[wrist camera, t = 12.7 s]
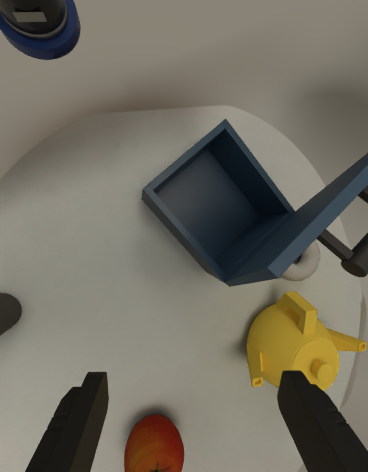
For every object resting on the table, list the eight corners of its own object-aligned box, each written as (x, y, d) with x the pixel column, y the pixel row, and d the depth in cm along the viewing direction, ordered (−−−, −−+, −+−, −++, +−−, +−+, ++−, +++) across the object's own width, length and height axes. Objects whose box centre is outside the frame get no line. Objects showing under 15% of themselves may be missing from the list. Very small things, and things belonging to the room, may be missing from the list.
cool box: (141, 198, 37) (142, 189, 29) (206, 143, 40) (225, 118, 31) (206, 272, 40) (225, 283, 31) (263, 216, 42) (296, 212, 34)
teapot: (271, 279, 43) (320, 298, 31) (324, 322, 46) (388, 354, 34) (223, 350, 41) (257, 398, 30) (283, 390, 44) (335, 448, 33)
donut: (260, 245, 43) (281, 288, 44) (270, 246, 39) (293, 292, 40) (298, 222, 44) (318, 263, 45) (312, 221, 41) (332, 266, 42)
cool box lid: (266, 267, 13) (341, 338, 12) (419, 110, 15) (495, 157, 14) (224, 282, 31) (252, 310, 30) (296, 210, 33) (324, 234, 32)
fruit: (181, 445, 40) (194, 514, 30) (129, 462, 38) (125, 542, 28) (175, 396, 40) (187, 451, 30) (122, 411, 38) (117, 474, 28)
